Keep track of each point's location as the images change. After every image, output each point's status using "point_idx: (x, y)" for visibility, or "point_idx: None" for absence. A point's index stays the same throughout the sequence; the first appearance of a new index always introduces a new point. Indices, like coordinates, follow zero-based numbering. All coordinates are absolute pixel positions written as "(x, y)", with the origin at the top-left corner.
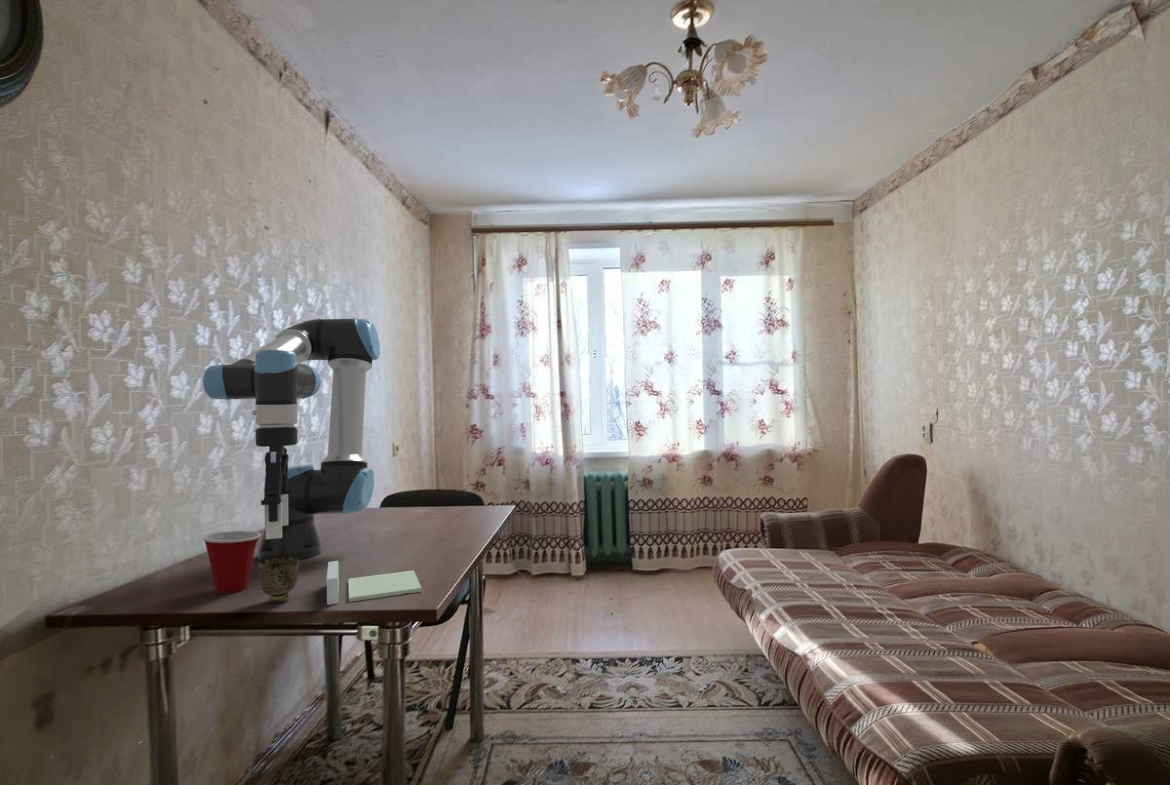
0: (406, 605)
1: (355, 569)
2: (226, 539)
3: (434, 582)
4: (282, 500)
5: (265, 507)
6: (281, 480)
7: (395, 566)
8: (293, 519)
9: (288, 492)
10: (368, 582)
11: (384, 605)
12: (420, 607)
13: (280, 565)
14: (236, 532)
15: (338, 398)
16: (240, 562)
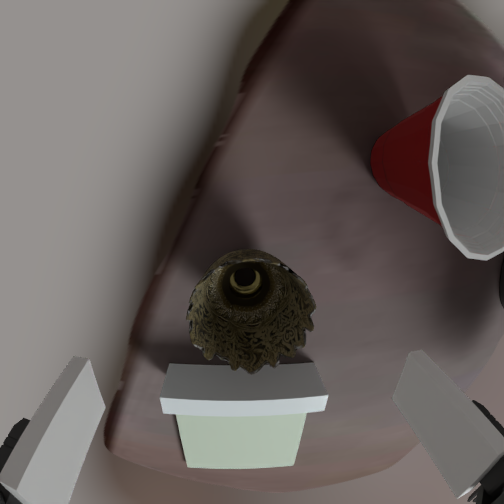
0: (130, 441)
1: (387, 389)
2: None
3: (228, 475)
4: (457, 464)
5: (4, 468)
6: None
7: (357, 438)
8: None
9: (474, 496)
10: (259, 424)
11: (138, 425)
12: (118, 448)
13: (302, 309)
14: None
15: None
16: (404, 187)
